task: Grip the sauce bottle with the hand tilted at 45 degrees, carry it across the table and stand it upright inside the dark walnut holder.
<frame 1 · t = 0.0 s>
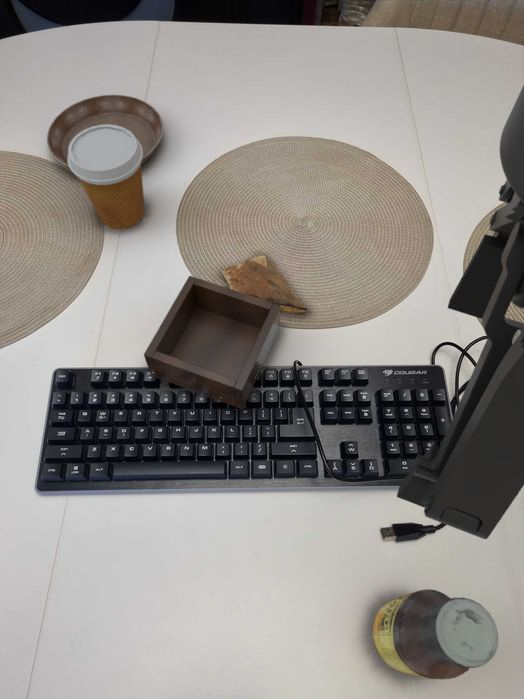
hand: (447, 396, 33), 29 cm above the table, tool pointing down, fingers open, 13 cm apart
sauce bottle: (400, 636, 52), on the table
plant saucer: (109, 147, 86), on the table
quesadilla slice: (267, 286, 73), on the table
disposable coffee cup: (123, 215, 79), on the table
holder: (217, 353, 67), on the table
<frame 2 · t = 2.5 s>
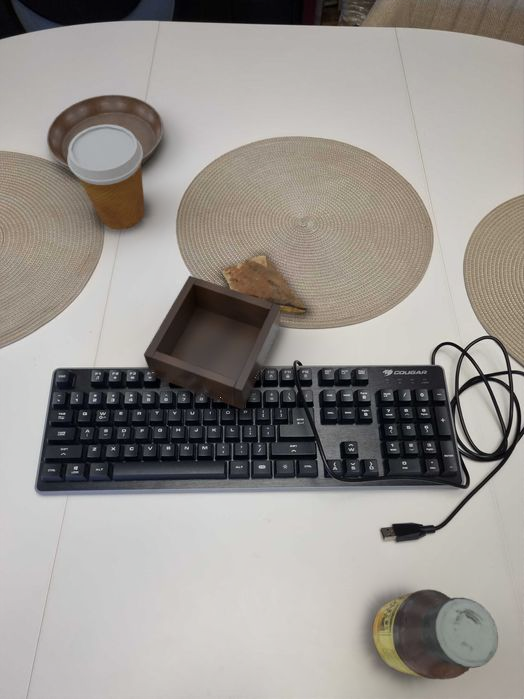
nothing on the table moved.
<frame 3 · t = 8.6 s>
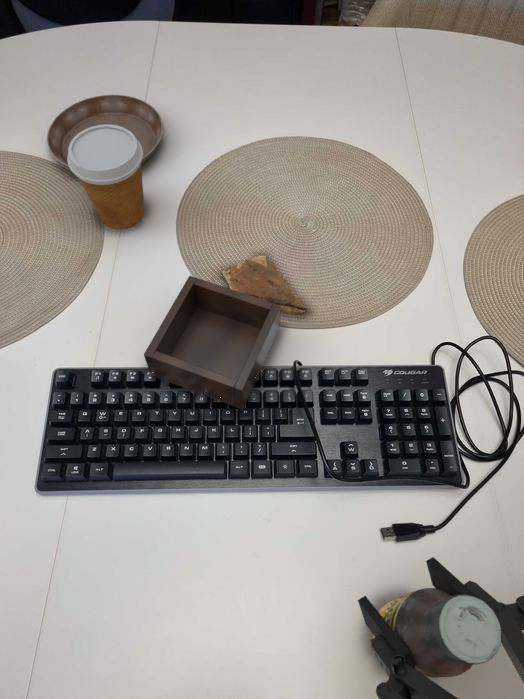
hand: (400, 590, 46), 8 cm above the table, tool tilted 45°, fingers closed on sauce bottle, 6 cm apart
sauce bottle: (400, 636, 52), on the table, touching gripper
everything else where it was.
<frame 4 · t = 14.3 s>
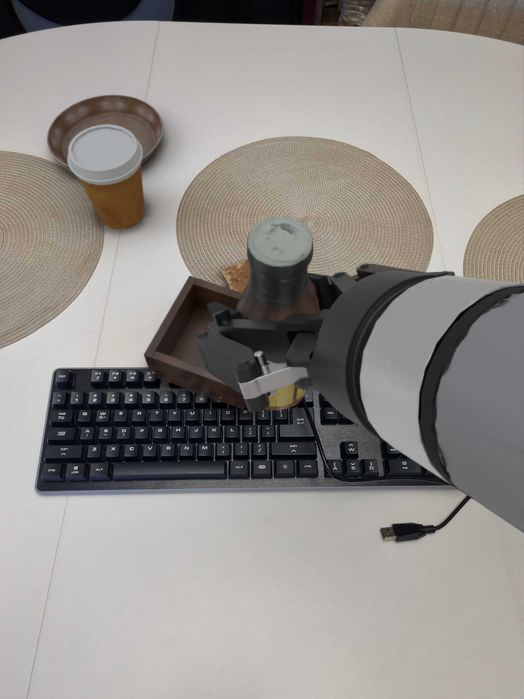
hand: (255, 302, 44), 22 cm above the table, tool tilted 45°, fingers closed on sauce bottle, 6 cm apart
sauce bottle: (273, 385, 50), point 14 cm above the table, touching gripper
everything else where it was.
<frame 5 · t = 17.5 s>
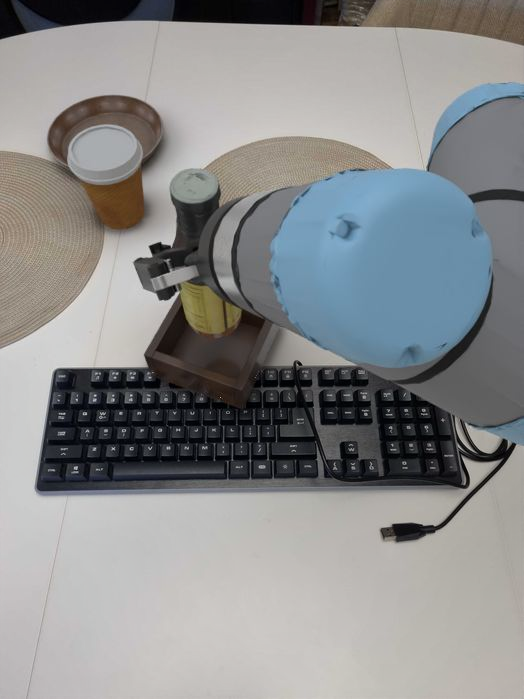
hand: (192, 246, 55), 16 cm above the table, tool tilted 45°, fingers closed on sauce bottle, 6 cm apart
sauce bottle: (213, 319, 60), point 8 cm above the table, touching gripper
everything else where it was.
when the fingers open (9 cm above the table, at t = 19.9 s): sauce bottle stays where it is, resting on holder.
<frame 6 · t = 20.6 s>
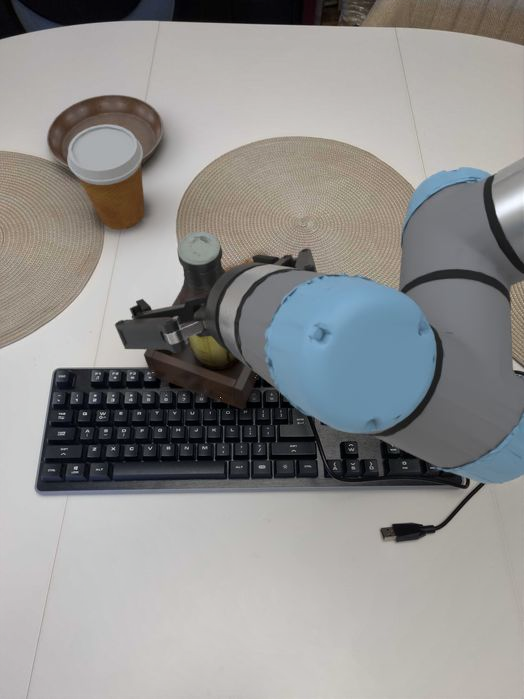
hand: (202, 288, 59), 11 cm above the table, tool tilted 45°, fingers open, 13 cm apart
sauce bottle: (217, 352, 67), resting on holder
everything else where it was.
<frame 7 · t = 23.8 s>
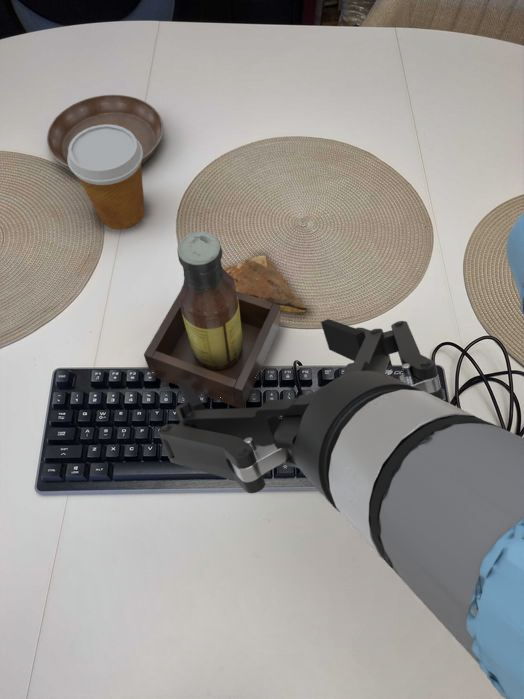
hand: (260, 363, 47), 17 cm above the table, tool tilted 45°, fingers open, 13 cm apart
nothing on the table moved.
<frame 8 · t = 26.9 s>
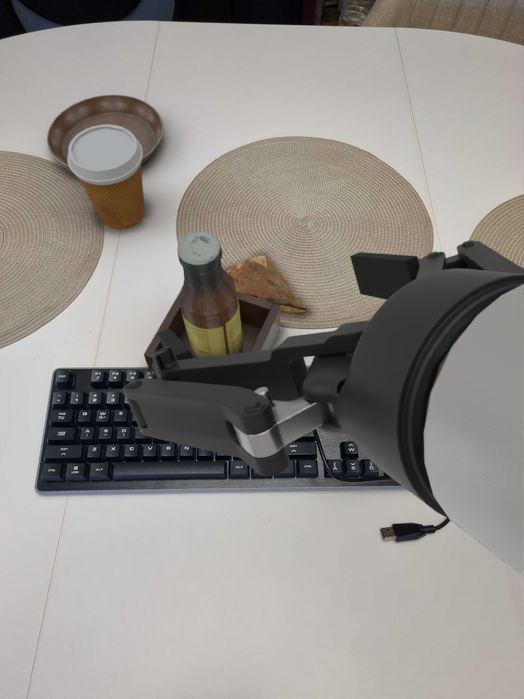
hand: (269, 310, 35), 30 cm above the table, tool tilted 45°, fingers open, 13 cm apart
nothing on the table moved.
at the end: sauce bottle 0.0 cm off-centre in the holder, point 0.4 cm above the holder's base; sauce bottle tilted 0°; the gripper is holding nothing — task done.
